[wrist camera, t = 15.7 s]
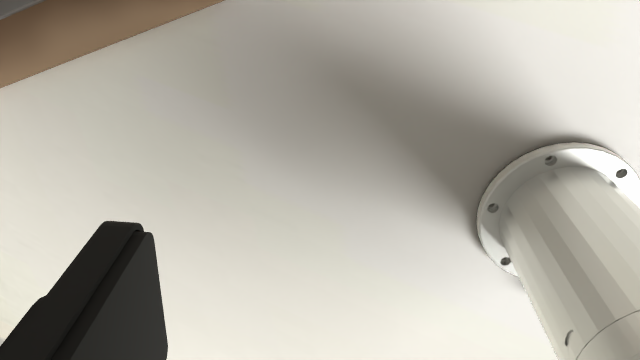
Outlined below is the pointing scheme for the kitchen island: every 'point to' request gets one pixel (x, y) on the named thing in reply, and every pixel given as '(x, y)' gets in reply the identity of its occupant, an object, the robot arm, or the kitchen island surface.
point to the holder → (75, 29)
